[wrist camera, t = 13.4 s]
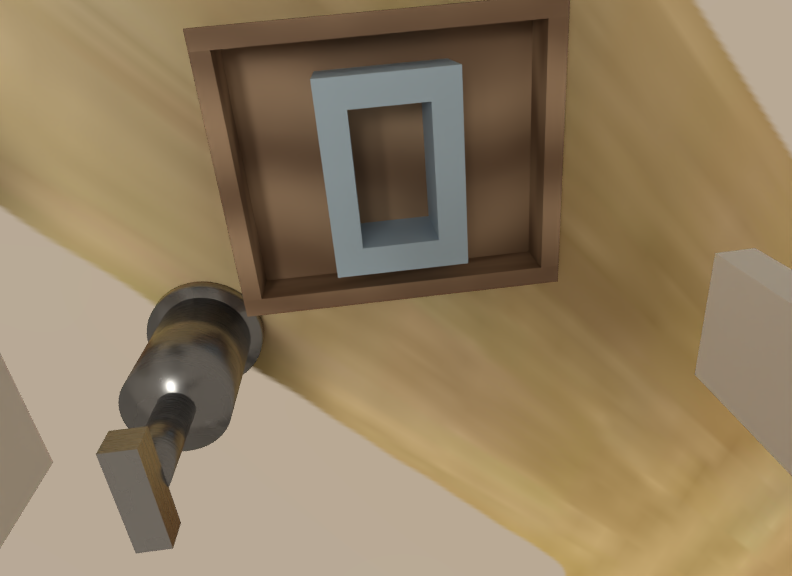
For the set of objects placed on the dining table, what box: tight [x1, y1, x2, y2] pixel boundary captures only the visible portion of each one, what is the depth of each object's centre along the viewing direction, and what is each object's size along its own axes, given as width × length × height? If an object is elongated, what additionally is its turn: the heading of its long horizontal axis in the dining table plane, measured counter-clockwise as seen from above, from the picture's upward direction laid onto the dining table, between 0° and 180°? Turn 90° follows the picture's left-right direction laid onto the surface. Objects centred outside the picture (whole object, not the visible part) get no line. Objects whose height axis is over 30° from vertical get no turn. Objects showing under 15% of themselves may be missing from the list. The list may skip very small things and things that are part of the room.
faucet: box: [96, 282, 264, 553], centre depth 30 cm, size 7×7×14 cm
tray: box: [183, 0, 570, 317], centre depth 31 cm, size 15×18×4 cm
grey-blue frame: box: [310, 58, 468, 278], centre depth 30 cm, size 7×10×4 cm
